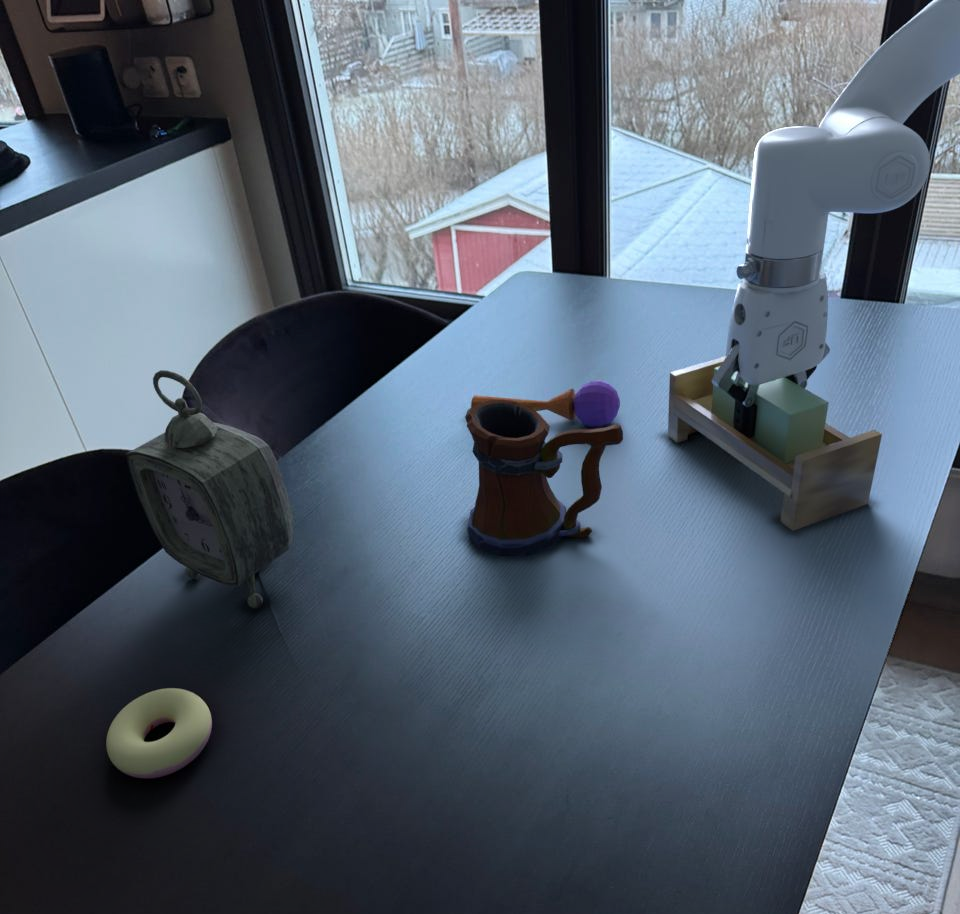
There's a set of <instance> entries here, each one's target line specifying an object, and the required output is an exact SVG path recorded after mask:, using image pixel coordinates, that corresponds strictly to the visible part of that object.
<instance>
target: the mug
mask: <svg viewBox="0 0 960 914" xmlns="http://www.w3.org/2000/svg"><path fill="white" fill-rule="evenodd" d="M464 418H465V421H466V428H467V430H468V431H469V433H470V435H471V437H472V441H473V447H472V454H473V455H474V457H475V458H476V460H477V461H478V491H477V495H476V499H475V504H474V506H473V508H470V509H469V518H468V522H467V527H466V529H467V534H468V537H469V538H470V539H471V541H472V542H473V543H474V545H475V546H476V547H477V549H478V550H480V551H482V552H486V553H491V554H495V555H498V556H502V557H507V556H509V557H521V556H522V557H527V556H531V555H535V554H536V553H539V552H542V551H543V552H544V551H545V550H549V549H551V548H553V547H555V545H556V544H557V543H559V542H560V540H562V539H563V538H564V537H567V538H575V539H587V538H588V537H589V536H590V534H591V533H592V532H593V529H592V527H589V526H585V527H581V526H582V525H581V522H580V521H579V520H578V515H579V514H580V513H582V512H584V511H586V510H587V509H589V508H591V507H592V506H594V505H595V504H597V502H598V501H599V500H600V498H601V492H602V486H603V485H602V482H601V475H600V463H601V462H600V461H601V458H602V456H603V454H604V452H605V449H606V446H616V445H619V444H621V443H622V442H623V441H624V430H623V428H622V425H620V424H618V423H615V424H612V425H609V426H607V427H597V428H592V429H591V428H575V429H568V430H564V431H562V432H560V433H558V434H555V435H554V436H553V437H551V438H550V439H549V440H548V441H547V442H546V438H547V437H548V436H549V432H550V428H551V426H550V424H549V423H548V422H547V421H546V419H545V417H543V416H542V414H541V413H540V412H539V411H535V410H533V409H531V408H529V407H528V406H526V405H524V404H522V403H521V404H518V403H517V402H514V401H508V400H503V399H501V400H490V401H484V402H482V403H479V404H477V405H475V406H473V407H471V406H470V408H469V409H467V411H466V414H465V417H464ZM571 445H572V446H573V445H589V446H590V448H589V450H588V451H587V453H586V454H585V457H584V459H583V461H582V464H581V470H580V480H581V488H582V489H581V490H582V496H580V497H579V498H577V499H576V500H575V501H574V502H573V503H572V504H570V506H569V507H568V508H566V507H567V506H565V504H563V503H562V502H561V501H560V500H559V499H558V498H557V497H556V495H555V493H554V492H553V490H552V488H551V486H550V484H549V481H548V479H552V478H553V477H554V476H555V475H556V474H557V473H558V471H559V470H560V468H561V464H562V463H563V461H564V459H563V458H564V455H563V453H562V452H561V451H560V448H564V447H567V446H571Z"/></svg>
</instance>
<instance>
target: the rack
mask: <svg viewBox="0 0 960 914" xmlns="http://www.w3.org/2000/svg"><path fill="white" fill-rule="evenodd" d="M725 358H726V355H724V356H721V357H717V358H713V359H711V360H707V361H705V362H701V363H697V364H694V365H690V366H688V367H684V368H680V369H678V370H677V369H676V370H674V371H670V372H669V382H668V385H669V386H668V387H669V388H668V413H667V414H668V415H667V418H668V419H667V420H668V421H667V437H668V438H670V439H671V440H672V441H674V442H675V443H680V442H685V441H687V440H688V438H689V435H692V434H694V433H698V432H699V433H700V434H701V435H702V436H704V437H706V438H707V439H708V440H709V441H711V442H713V444H715V445H717V446H718V447H719V448H721V449H722V450H724V451H725V452H726V453H728V454H729V455H731V456H732V457H733V458H734V459H736V460H738V461H739V462H741V463H742V464H743V465H744V466H746V467H747V468H749V469H750V470H752V471H753V472H754V473H755V474H757V475H759V476H760V477H761V478H762V479H764V480H765V481H767V482H768V483H769V484H771V485H773V486H774V487H775V488H776V489H778V490H779V491H780V492H782V493H784V494H783V499H782V507H781V514H780V522H781V524H783V525H784V526H785V527H787V528H788V529H789V530H791V531H792V532H793V531H794V532H795V531H797V530H799V529H802V528H805V527H807V526H811V525H813V524H816V523H819V522H822V521H824V520H827V519H830V518H833V517H835V516H839V515H841V514H844V513H847V512H849V511H852V510H855V509H859V508H860V507H864V506H867V505H868V504H869V500H870V496H871V491H872V485H873V481H874V476H875V472H876V465H877V463H878V462H877V461H878V456H879V451H880V448H881V447H880V446H881V441H882V436H883V434H882V433H881V432H880V431H877V430H876V429H872V430H868V431H865V432H863V433H860V434H857V435H854V436H851V437H850V436H848V435H846V434H845V433H843V432H841V430H838V429H837V428H835V427H833V426H832V425H830V424H828V423H827V422H826V423H825V429H824V436H823V442H822V447H821V448H818V449H815V450H812V451H809V452H806V453H803V454H800V455H797V456H796V457H795V461H792V462H789V463H784V462H783V461H781V460H780V459H778V458H777V457H775V456H774V455H772V454H771V453H769V452H768V451H766V450H765V449H763V448H762V447H761V446H759V445H758V444H756V443H755V442H753V441H752V440H750V439H749V438H747V437H746V436H744V435H743V434H741V433H740V432H739V431H737V430H736V429H734V428H733V427H731V426H730V425H728V424H727V423H725V422H724V421H722V420H721V419H719V418H718V417H717V416H715V415H714V414H712V413H711V410H712V395H713V383H712V378H713V377H714V368H716V367H720V366H721V364H722V363H723V361H724V360H725Z"/></svg>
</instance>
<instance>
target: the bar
mask: <svg viewBox="0 0 960 914" xmlns="http://www.w3.org/2000/svg"><path fill="white" fill-rule="evenodd" d="M718 369H719V367H716V368H714V375H715V373H716V372H717V370H718ZM736 375H737V372H735V373H734V374H733V376H732V378H731V380H732V382H733V383H734V381H735V378H736ZM747 385H748V383H747V382H746V384H745V387H744V391H746V388H747ZM754 404H755V405H757V415H756V425H755V434H754V437H751V438H749V439H750V440H752V441H753V442H755V443H756V444H758V445H759V446H761V447H762V448H763V449H765V450H766V451H768V452H769V453H771V454H772V455H774V456H775V457H777V458H778V459H780V460H781V461H783V462H784V463H789V462H792V461H795V457H796V456H797V455H800V454H803V453H806V452H809V451H812V450H815V449H818V448H821V447H822V442H823V436H824V429H825V423H826V424H827V418H828V417H827V416H828V410H829V401H827V400H825V398H822V397H820V396H818V395H817V394H815V393H813V392H811V391H810V390H808V389H806V388H803V387H801V386H799V385H798V384H796V383H794V382H792V381H791V380H789V379H787V378H785V377H783V378H780V379H777V380H774V381H770V382H767V383H763V384H760V385H759V388H758V391H757V394H756V397H755V400H754ZM734 408H735V399H733V398H732V397H731V396H730V395H729V394H728V393H726V392H725V391H724V390H722V389H721V388H719V387H717V386H716V385H714V384H713V395H712V410H711V413H712V414H714V415H715V416H717V417H718V418H719V419H721V420H722V421H724V422H725V423H727V424H728V425H730V426H731V427H733V428H734V424H733V419H734ZM734 429H735V428H734Z"/></svg>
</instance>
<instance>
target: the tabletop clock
mask: <svg viewBox="0 0 960 914" xmlns="http://www.w3.org/2000/svg"><path fill="white" fill-rule="evenodd" d="M162 378H166V379H170V380H173V381H176V382H177V383H179V384H181V385H182V386H183V387H185V388H186V390H188V391H189V392H190V393H191V395H192V396H193V397H194V399H195V401H196V406H195V407H189V406H188V404H187V401H186V400H185V398H183V397H179V398H177V399H175V401H173V400H172V399H169V398H168V397H167V396H166V395H165V394H164V393H163V392H162V390H161V388H160V386H159V383H160V382H159V381H160V379H162ZM152 384H153V389H154V390H155V392H156V395H157V396H158V397H159V398H160V399H161V401H162V402H163V403H164V404H165V405H166V406H167V407H169V408H170V409H172V410H174V411H175V412H177V413H178V414H176V415H174V416H172V417H171V419H170V420H169V422H168V424H167V425H166V428H165V431H164V432H163V433H161V434H159V435H158V436H155V437H154V438H152V439H149V440H148V441H146V442H144V443H142V444H140V445H139V446H138V447H136V448H134V449H132V450H130V451H128V452H127V453H126V461H127V466H128V470H129V473H130V477H131V479H132V483H133V485H134V488H135V491H136V493H137V497H138V499H139V502H140V505H141V507H142V509H143V511H144V513H145V515H146V518H147V520H148V523H149V525H150V527H151V529H152V531H153V533H154V535H155V537H156V538H157V540H158V542H159V544H160V546H161V547H162V549H163V550H164V552H165V553H166V554H167V555H168V556H170V557H171V559H173V560H175V561H176V562H178V563H179V564H180V565H182V566H184V567H186V568H184V569H185V570H184V573H185V575H186V576H187V578H189V579H190V580H191V579H197V578H198V577H199V576H203V577H205V578H207V579H210V580H212V581H215V582H218V583H219V584H223V585H226V586H230V587H236V586H237V587H238V586H240V585H241V584H243V583H244V582H245V581H246V583H247V587H248V589H249V592H250V594H249V595H248V597H247V600H246V601H247V602H246V603H247V605H248V606H249V607H250V608H251V609H258V608H260V607H261V606H262V605H263V602H264V599H263V597H262V596H261V595H260V594H259V593H257V591H256V582H255V575H256V573H258V572H259V571H261V570H263V569H264V568H265V567H267V566H268V565H270V563H272V562H274V561H275V560H277V559H278V558H280V556H282V555H283V554H285V553H287V552H288V551H289V550H290V546H291V544H292V541H293V538H294V536H295V521H294V516H293V512H292V507H291V504H290V500H289V494H288V492H287V488H286V485H285V482H284V478H283V476H282V473H281V469H280V466H279V463H278V461H277V458H276V456H275V454H274V452H273V450H272V449H271V446H270V445H269V444H268V443H267V442H265V441H264V440H263V439H262V438H260V437H258V436H256V435H254V434H251V433H249V432H246V431H244V430H242V429H239V428H236V427H233V426H231V425H226V424H222V423H219V422H215V421H212V420H211V419H210V418H209V417H208V416H206V415H205V414H204V413H202V412H201V411H202V409H203V401H202V398H201V395H200V394H199V392H198V391H197V389H196V387H195V386H194V385H193V384H192V383H191V381H189V380H188V379H187V378H186V377H184V376H183V375H181V374H180V373H179V374H178V373H177V372H173V371H170V370H165V369H163V370H162V369H161V370H158V371H157V372H155V373H154V375H153V377H152Z"/></svg>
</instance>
